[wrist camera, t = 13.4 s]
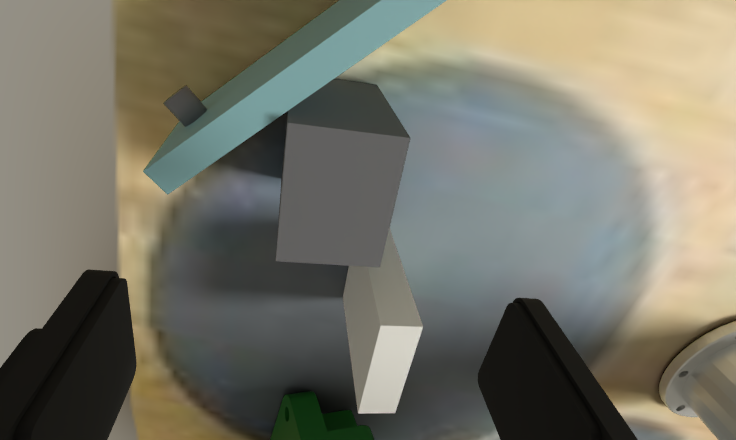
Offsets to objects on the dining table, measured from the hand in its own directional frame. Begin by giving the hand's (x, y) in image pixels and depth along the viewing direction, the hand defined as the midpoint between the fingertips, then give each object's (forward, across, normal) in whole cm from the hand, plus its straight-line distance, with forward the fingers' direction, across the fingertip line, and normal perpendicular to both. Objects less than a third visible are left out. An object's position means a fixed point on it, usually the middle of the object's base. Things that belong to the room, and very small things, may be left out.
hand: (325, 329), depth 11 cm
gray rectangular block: (+15, -1, 0) cm, 15 cm away
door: (+15, +2, -5) cm, 15 cm away
